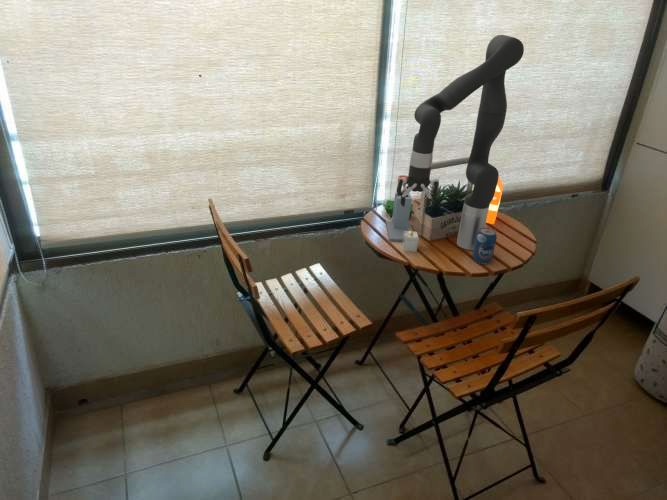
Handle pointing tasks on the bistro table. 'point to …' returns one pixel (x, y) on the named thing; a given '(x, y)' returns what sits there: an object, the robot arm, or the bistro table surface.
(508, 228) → the bistro table surface
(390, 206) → the clamp
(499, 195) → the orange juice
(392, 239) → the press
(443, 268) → the bistro table surface
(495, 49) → the robot arm
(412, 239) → the block
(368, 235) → the bistro table surface
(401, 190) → the disc
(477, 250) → the soda can
